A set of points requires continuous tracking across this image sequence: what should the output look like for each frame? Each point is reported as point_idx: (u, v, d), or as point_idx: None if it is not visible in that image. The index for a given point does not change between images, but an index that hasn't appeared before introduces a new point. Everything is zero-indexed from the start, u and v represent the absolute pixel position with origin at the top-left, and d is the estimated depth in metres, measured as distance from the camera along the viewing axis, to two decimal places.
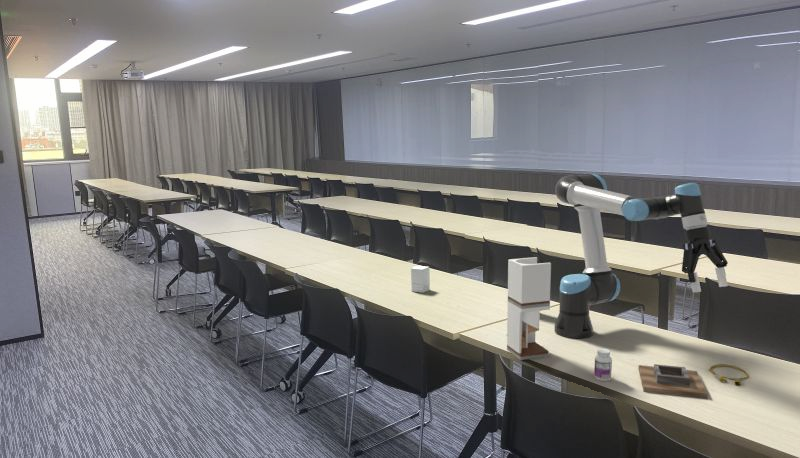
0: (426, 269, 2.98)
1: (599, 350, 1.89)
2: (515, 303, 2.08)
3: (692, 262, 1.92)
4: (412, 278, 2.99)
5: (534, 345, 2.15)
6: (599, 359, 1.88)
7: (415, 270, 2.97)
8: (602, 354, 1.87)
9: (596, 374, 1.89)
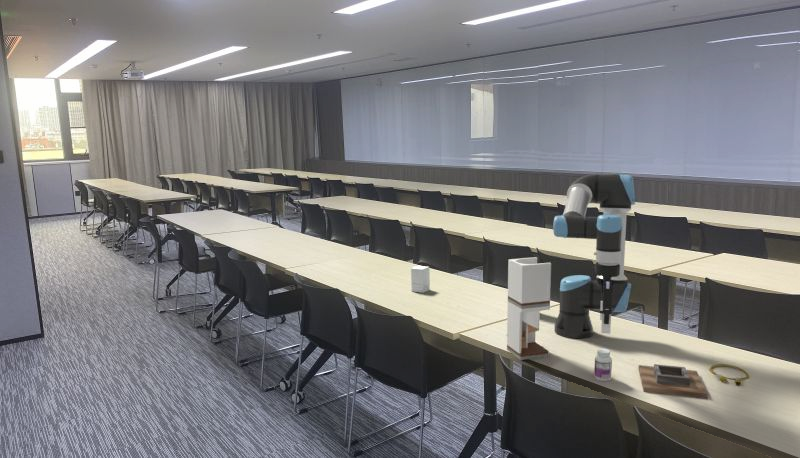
0: (426, 269, 2.98)
1: (599, 350, 1.89)
2: (515, 303, 2.08)
3: None
4: (412, 278, 2.99)
5: (534, 345, 2.15)
6: (599, 359, 1.88)
7: (415, 270, 2.97)
8: (602, 354, 1.87)
9: (596, 374, 1.89)
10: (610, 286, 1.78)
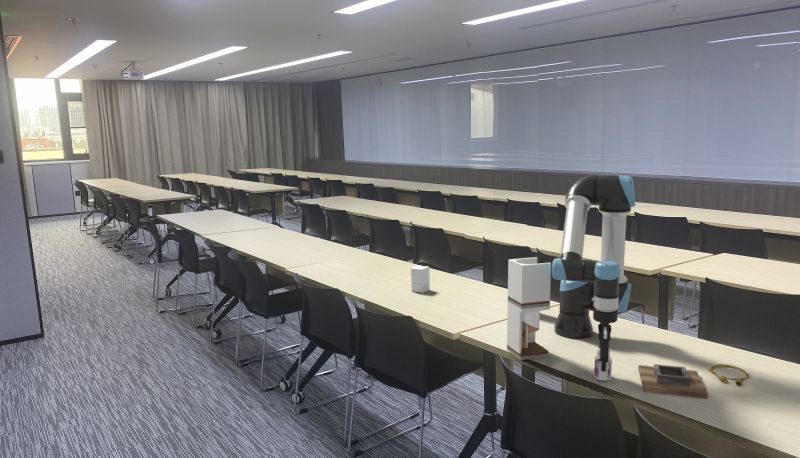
0: (426, 269, 2.98)
1: (599, 350, 1.89)
2: (515, 303, 2.08)
3: None
4: (412, 278, 2.99)
5: (534, 345, 2.15)
6: None
7: (415, 270, 2.97)
8: None
9: (596, 374, 1.89)
10: (607, 337, 1.81)
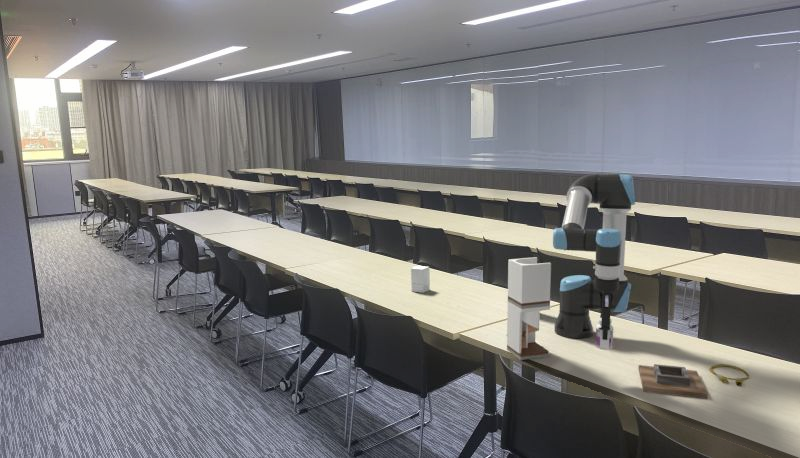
0: (426, 269, 2.98)
1: (600, 319, 1.88)
2: (515, 303, 2.08)
3: None
4: (412, 278, 2.99)
5: (534, 345, 2.15)
6: None
7: (415, 270, 2.97)
8: None
9: (597, 343, 1.88)
10: (609, 305, 1.80)
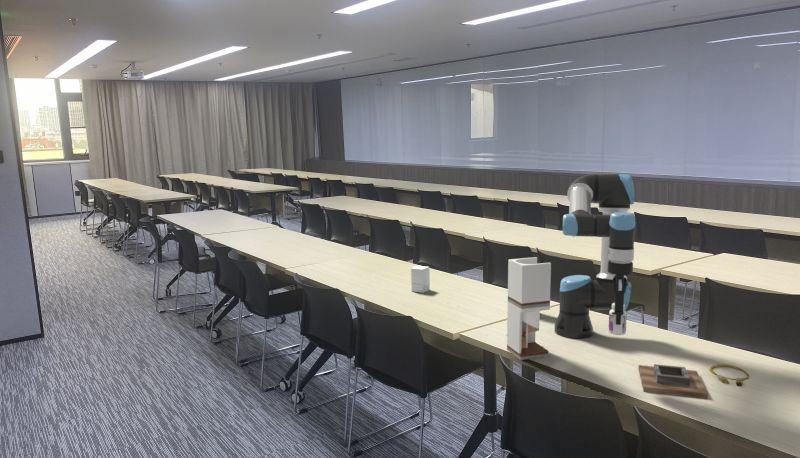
0: (426, 269, 2.98)
1: (614, 304, 1.86)
2: (515, 303, 2.08)
3: None
4: (412, 278, 2.99)
5: (534, 345, 2.15)
6: None
7: (415, 270, 2.97)
8: None
9: (610, 328, 1.86)
10: (622, 289, 1.78)
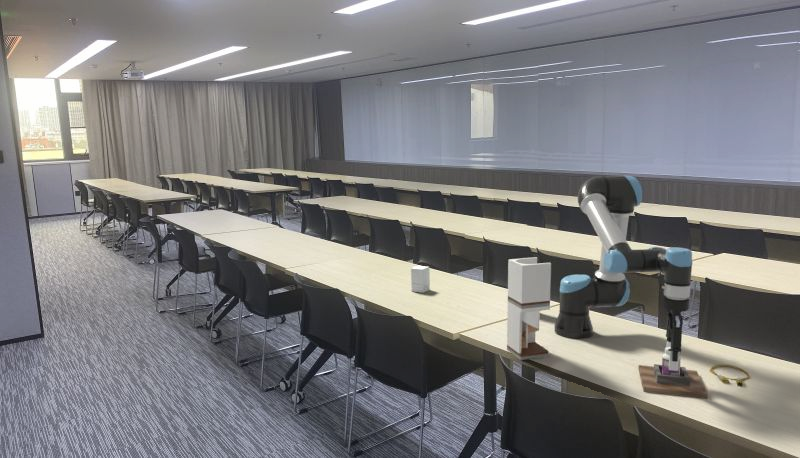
0: (426, 269, 2.98)
1: (667, 348, 1.85)
2: (515, 303, 2.08)
3: None
4: (412, 278, 2.99)
5: (534, 345, 2.15)
6: (668, 357, 1.84)
7: (415, 270, 2.97)
8: None
9: (664, 373, 1.85)
10: (680, 325, 1.76)
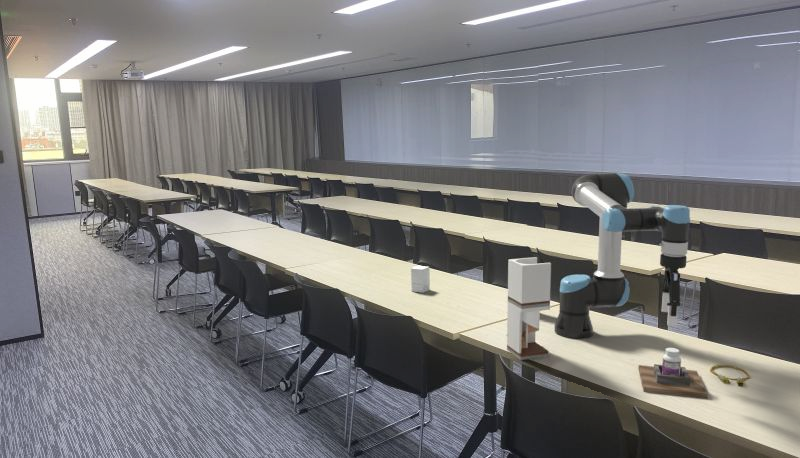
0: (426, 269, 2.98)
1: (668, 349, 1.85)
2: (515, 303, 2.08)
3: None
4: (412, 278, 2.99)
5: (534, 345, 2.15)
6: (668, 358, 1.83)
7: (415, 270, 2.97)
8: (671, 353, 1.83)
9: (664, 374, 1.85)
10: (678, 278, 1.76)
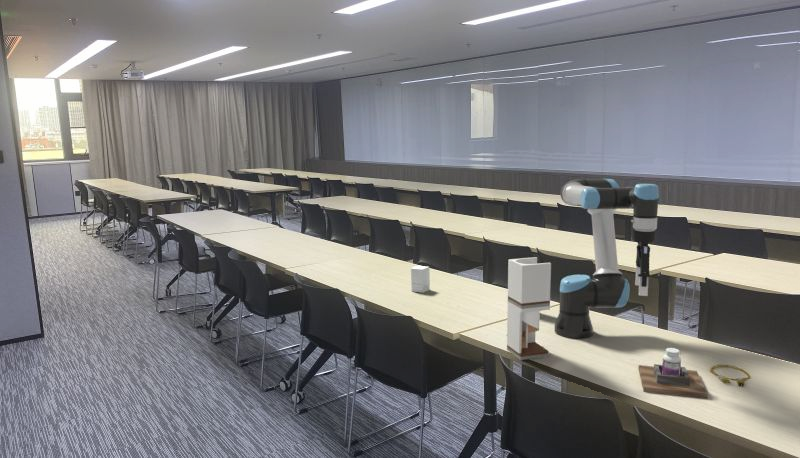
0: (426, 269, 2.98)
1: (668, 349, 1.85)
2: (515, 303, 2.08)
3: None
4: (412, 278, 2.99)
5: (534, 345, 2.15)
6: (668, 359, 1.83)
7: (415, 270, 2.97)
8: (671, 353, 1.83)
9: (664, 374, 1.85)
10: (648, 250, 1.88)
